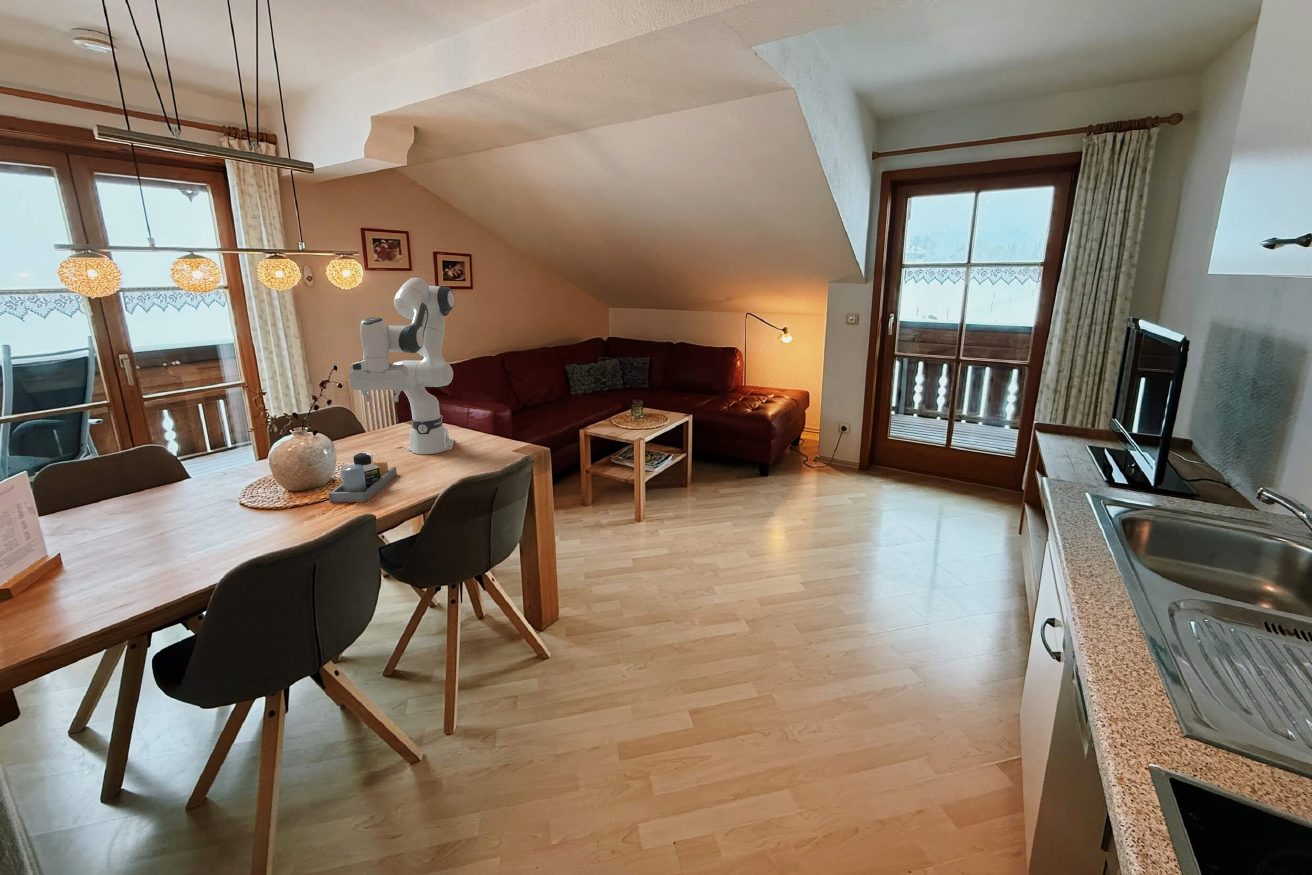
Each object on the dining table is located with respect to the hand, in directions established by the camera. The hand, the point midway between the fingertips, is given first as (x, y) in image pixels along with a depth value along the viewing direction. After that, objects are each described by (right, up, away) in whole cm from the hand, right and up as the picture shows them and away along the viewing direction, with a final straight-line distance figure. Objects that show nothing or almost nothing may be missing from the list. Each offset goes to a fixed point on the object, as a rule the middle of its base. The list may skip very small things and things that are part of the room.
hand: (382, 401), depth 210 cm
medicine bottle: (-4, -31, -4) cm, 31 cm away
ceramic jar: (-3, -33, -13) cm, 36 cm away
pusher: (-4, -28, +3) cm, 29 cm away
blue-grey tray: (-3, -32, -5) cm, 32 cm away
